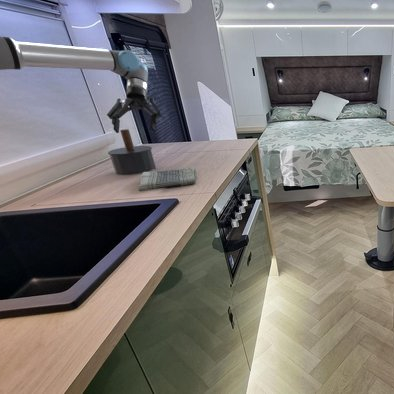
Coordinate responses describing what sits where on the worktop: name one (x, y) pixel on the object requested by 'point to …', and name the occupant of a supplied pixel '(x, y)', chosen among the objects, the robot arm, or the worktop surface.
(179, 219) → the worktop surface
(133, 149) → the pot lid
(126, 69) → the robot arm
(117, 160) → the pot
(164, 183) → the dish towel
